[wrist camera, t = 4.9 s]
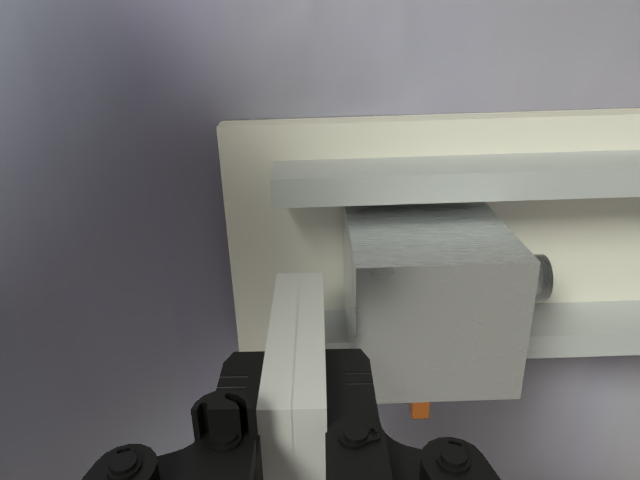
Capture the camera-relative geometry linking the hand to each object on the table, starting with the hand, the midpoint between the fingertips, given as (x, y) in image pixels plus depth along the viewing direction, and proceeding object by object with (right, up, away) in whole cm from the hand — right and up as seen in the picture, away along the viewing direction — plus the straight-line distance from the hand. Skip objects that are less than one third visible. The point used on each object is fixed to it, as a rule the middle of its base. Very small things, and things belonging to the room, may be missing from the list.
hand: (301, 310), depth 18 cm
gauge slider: (+5, +1, +4) cm, 6 cm away
